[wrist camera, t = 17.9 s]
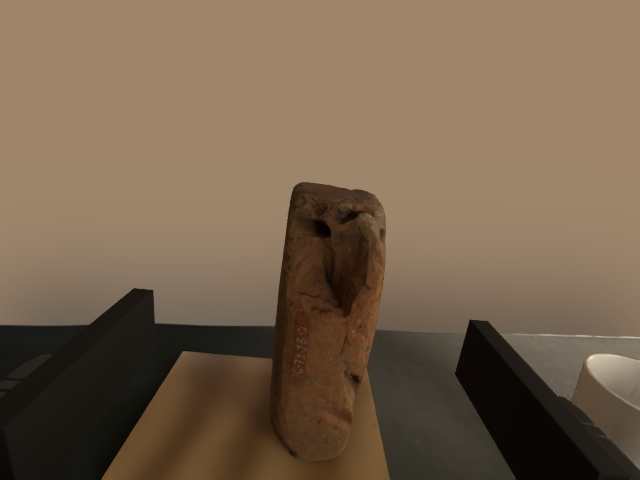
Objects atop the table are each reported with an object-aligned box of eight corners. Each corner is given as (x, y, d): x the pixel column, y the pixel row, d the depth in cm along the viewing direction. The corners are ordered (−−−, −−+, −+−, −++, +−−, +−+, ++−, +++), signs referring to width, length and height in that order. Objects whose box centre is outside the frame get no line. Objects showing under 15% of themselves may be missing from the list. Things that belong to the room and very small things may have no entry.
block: (277, 368, 34) (293, 175, 29) (348, 375, 35) (378, 184, 29) (257, 467, 24) (274, 196, 18) (358, 476, 24) (409, 210, 18)
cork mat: (101, 485, 22) (100, 479, 22) (182, 355, 36) (182, 350, 36) (392, 506, 23) (394, 500, 23) (365, 371, 36) (366, 366, 36)
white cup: (572, 533, 23) (628, 417, 20) (529, 438, 30) (564, 343, 27) (709, 574, 21) (790, 454, 18) (628, 463, 28) (676, 366, 26)
